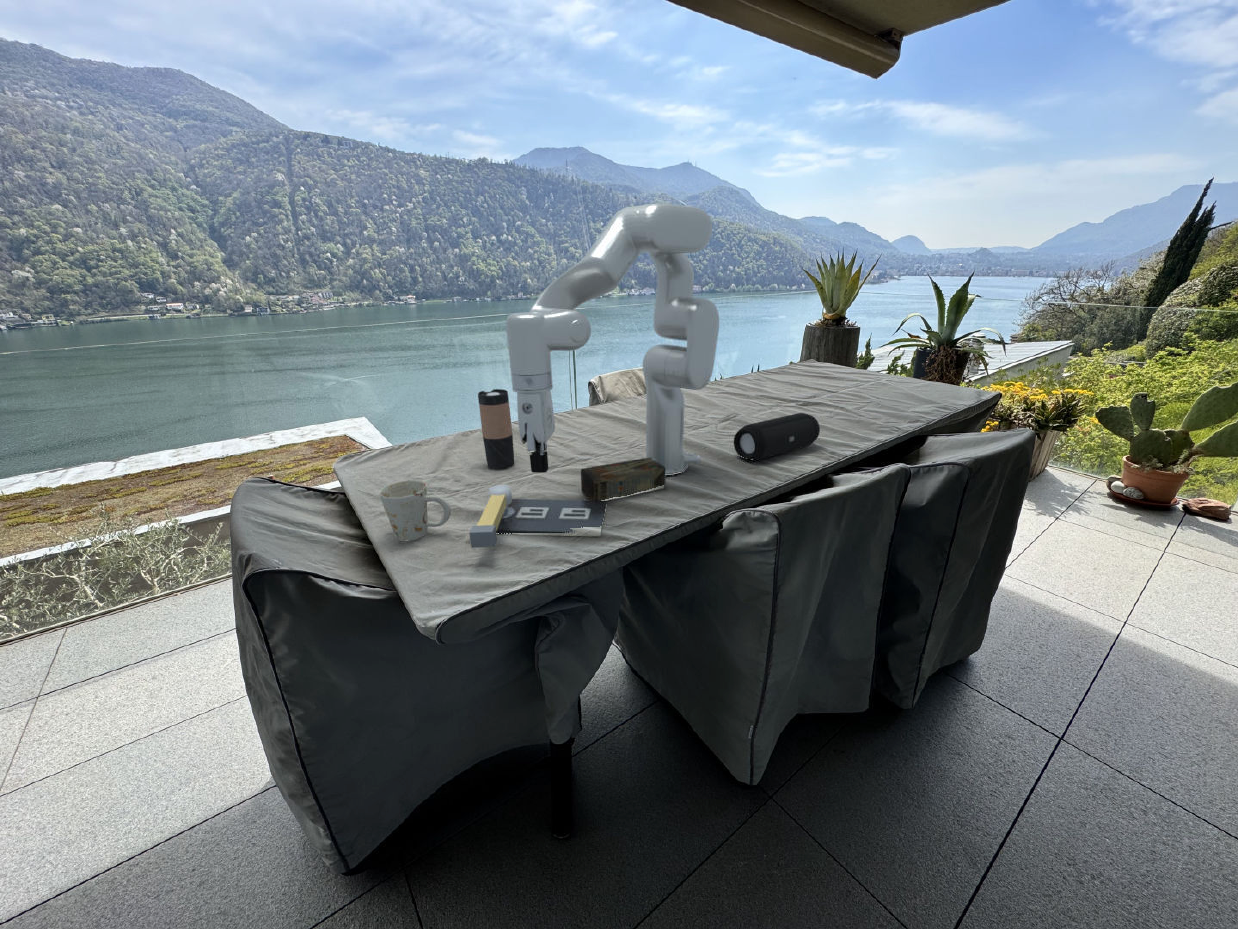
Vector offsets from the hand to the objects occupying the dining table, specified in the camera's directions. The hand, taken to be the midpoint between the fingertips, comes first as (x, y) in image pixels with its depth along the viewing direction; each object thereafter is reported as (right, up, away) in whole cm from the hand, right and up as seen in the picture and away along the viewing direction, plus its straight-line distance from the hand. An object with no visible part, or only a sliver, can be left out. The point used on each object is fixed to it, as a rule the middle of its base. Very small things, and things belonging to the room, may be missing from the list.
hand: (540, 470), depth 97 cm
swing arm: (-8, -10, -4) cm, 13 cm away
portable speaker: (+61, +4, +39) cm, 72 cm away
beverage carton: (+17, -5, +17) cm, 25 cm away
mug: (-23, -13, -1) cm, 27 cm away
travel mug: (-16, +1, +33) cm, 36 cm away
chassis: (+1, -10, +4) cm, 11 cm away
